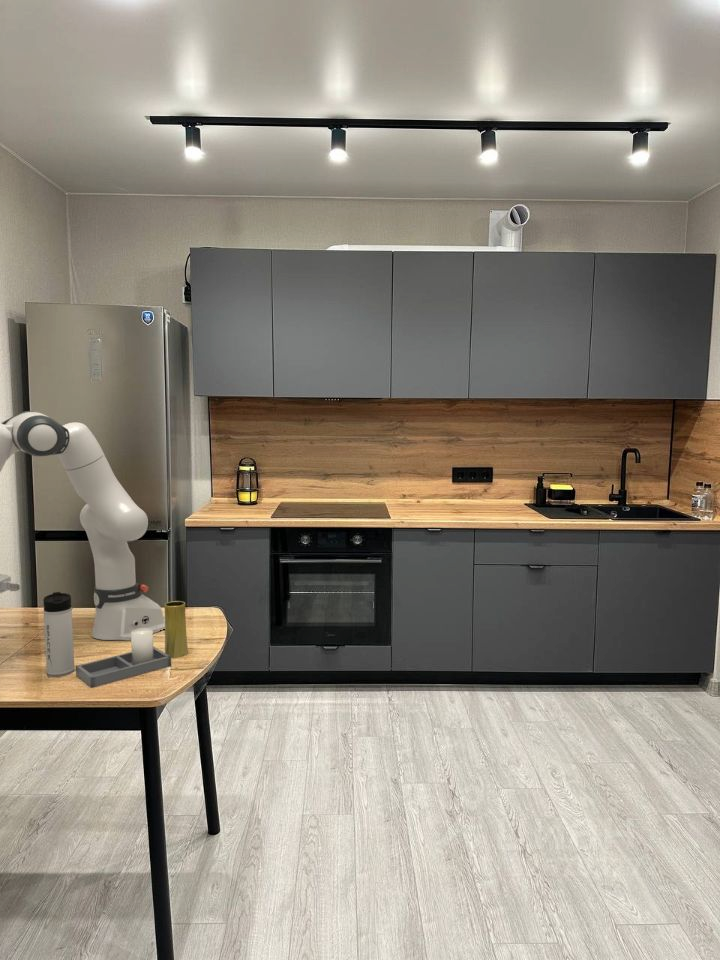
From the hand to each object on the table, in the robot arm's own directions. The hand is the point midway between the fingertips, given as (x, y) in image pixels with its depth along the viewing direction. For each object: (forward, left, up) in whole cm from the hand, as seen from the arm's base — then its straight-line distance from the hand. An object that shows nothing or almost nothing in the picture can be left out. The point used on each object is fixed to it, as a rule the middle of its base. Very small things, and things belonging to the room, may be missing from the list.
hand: (7, 592), depth 163 cm
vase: (-36, +17, -21) cm, 45 cm away
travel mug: (-9, +9, -21) cm, 24 cm away
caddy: (-21, +19, -21) cm, 35 cm away
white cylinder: (-26, +19, -20) cm, 37 cm away
